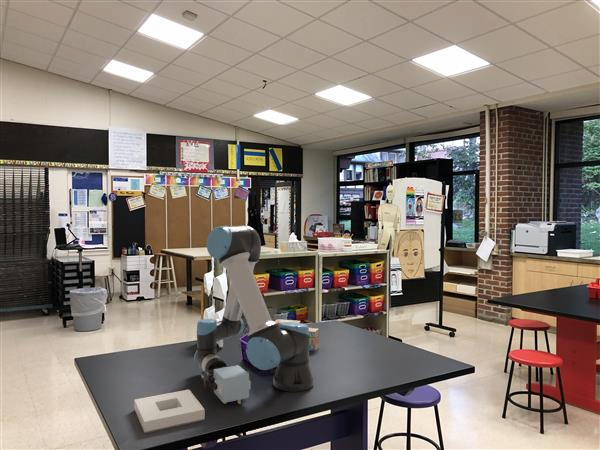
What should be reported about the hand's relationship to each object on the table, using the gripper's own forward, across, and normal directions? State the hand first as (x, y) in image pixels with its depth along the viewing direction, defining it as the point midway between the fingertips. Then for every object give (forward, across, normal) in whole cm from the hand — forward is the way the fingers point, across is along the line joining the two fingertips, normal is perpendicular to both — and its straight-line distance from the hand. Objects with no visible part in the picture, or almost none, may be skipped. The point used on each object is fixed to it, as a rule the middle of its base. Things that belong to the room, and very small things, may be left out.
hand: (235, 387), depth 153 cm
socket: (-5, +21, -6) cm, 22 cm away
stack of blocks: (-50, -49, -7) cm, 70 cm away
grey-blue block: (-5, 0, -6) cm, 8 cm away
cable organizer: (-71, -14, -7) cm, 72 cm away
